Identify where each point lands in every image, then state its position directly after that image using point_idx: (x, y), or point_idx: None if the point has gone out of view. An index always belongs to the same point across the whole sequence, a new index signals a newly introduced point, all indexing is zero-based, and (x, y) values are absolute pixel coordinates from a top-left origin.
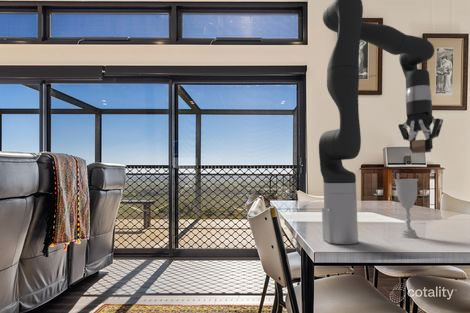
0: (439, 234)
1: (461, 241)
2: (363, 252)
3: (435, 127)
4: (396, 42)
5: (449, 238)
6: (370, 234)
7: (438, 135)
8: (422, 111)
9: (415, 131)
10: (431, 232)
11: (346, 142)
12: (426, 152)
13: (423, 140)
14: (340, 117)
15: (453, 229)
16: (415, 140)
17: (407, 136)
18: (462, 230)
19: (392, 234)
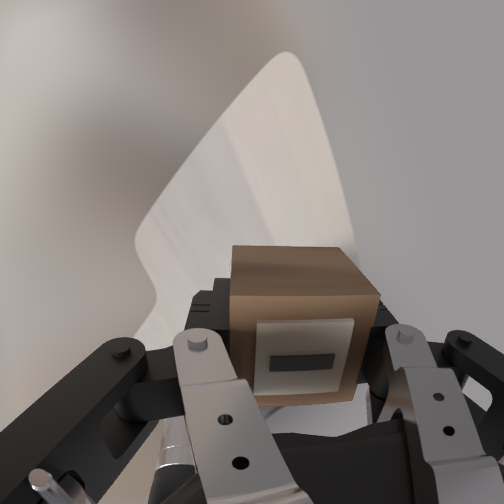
0: (284, 182)
1: (346, 234)
2: (267, 417)
3: (486, 443)
4: None
5: (319, 218)
6: (181, 308)
7: (474, 337)
8: None
9: (218, 430)
10: (258, 167)
11: None
12: (305, 248)
13: (345, 395)
14: None
15: (275, 72)
16: (261, 393)
17: (138, 408)
18: (298, 72)
19: (210, 272)
